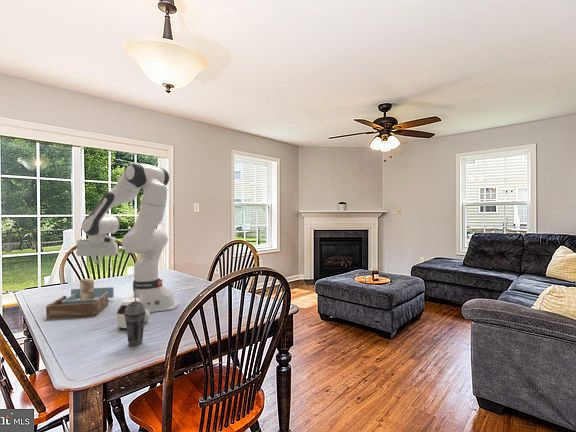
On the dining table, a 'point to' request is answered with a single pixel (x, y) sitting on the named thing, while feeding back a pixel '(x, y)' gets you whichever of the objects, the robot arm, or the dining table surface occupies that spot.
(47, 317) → the caddy
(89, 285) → the beech block
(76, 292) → the tray
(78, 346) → the dining table surface
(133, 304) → the beverage cup
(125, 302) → the spread jar
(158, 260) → the robot arm
